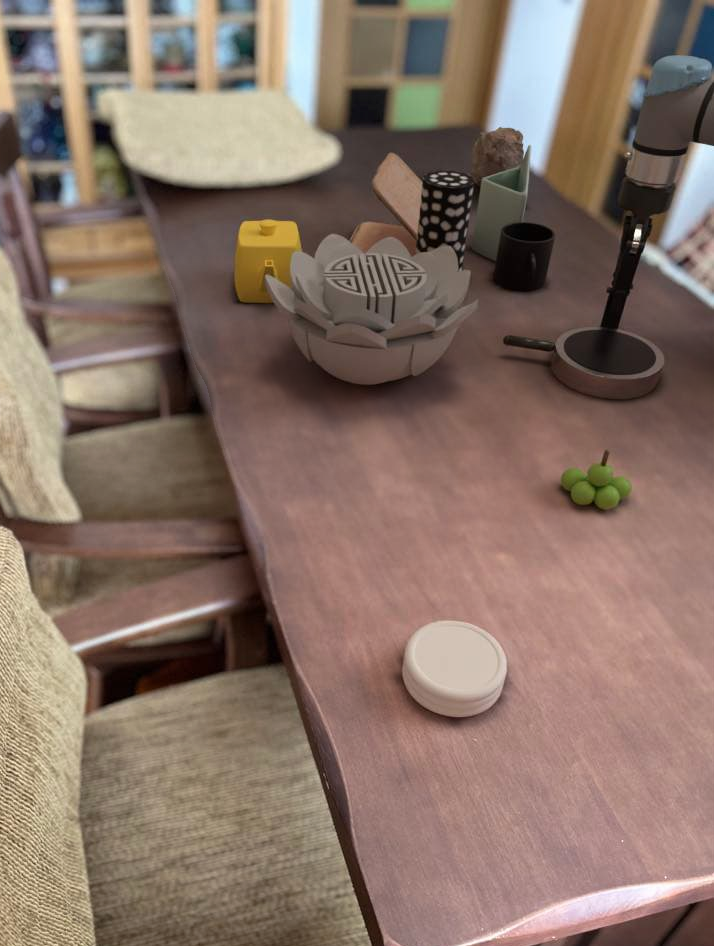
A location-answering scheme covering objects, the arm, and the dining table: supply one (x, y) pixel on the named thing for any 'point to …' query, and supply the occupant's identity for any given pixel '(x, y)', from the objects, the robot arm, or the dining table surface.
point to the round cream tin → (454, 668)
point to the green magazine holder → (500, 206)
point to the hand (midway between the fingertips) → (608, 328)
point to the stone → (496, 153)
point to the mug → (523, 255)
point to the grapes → (596, 485)
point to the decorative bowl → (373, 307)
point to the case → (393, 206)
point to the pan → (601, 361)
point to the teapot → (263, 257)
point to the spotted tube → (445, 212)
